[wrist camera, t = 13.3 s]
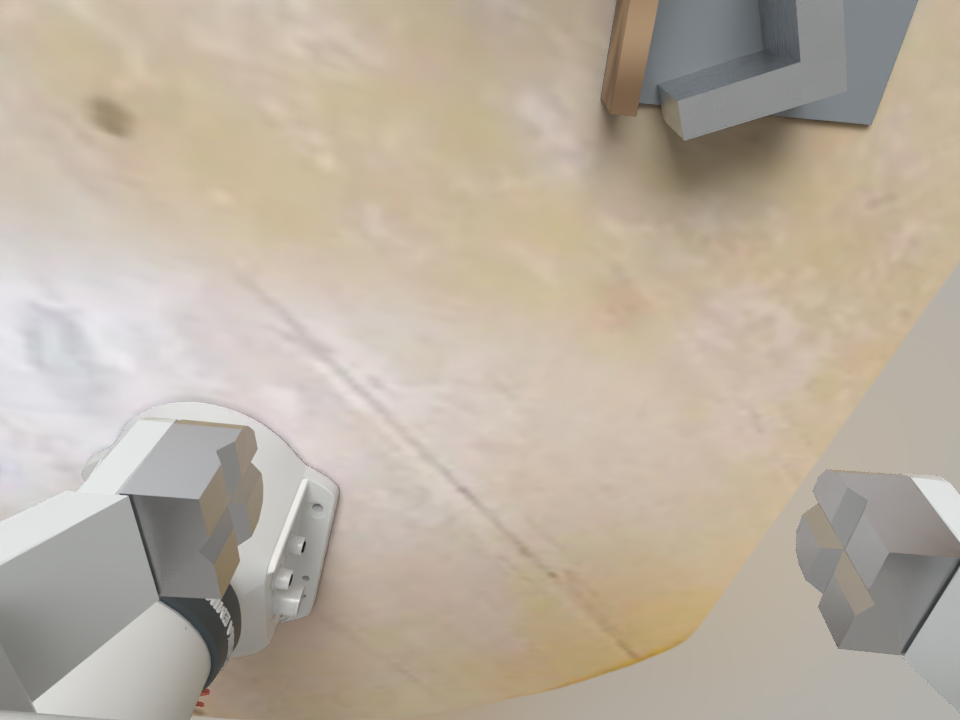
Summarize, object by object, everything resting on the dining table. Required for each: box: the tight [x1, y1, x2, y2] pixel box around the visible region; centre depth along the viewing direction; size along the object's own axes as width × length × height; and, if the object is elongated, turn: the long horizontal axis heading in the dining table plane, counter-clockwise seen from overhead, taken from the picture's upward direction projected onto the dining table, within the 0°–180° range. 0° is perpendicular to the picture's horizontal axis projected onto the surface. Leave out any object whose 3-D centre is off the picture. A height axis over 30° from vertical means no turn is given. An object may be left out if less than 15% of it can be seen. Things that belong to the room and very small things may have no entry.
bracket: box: [657, 0, 847, 141], centre depth 30 cm, size 7×7×5 cm
